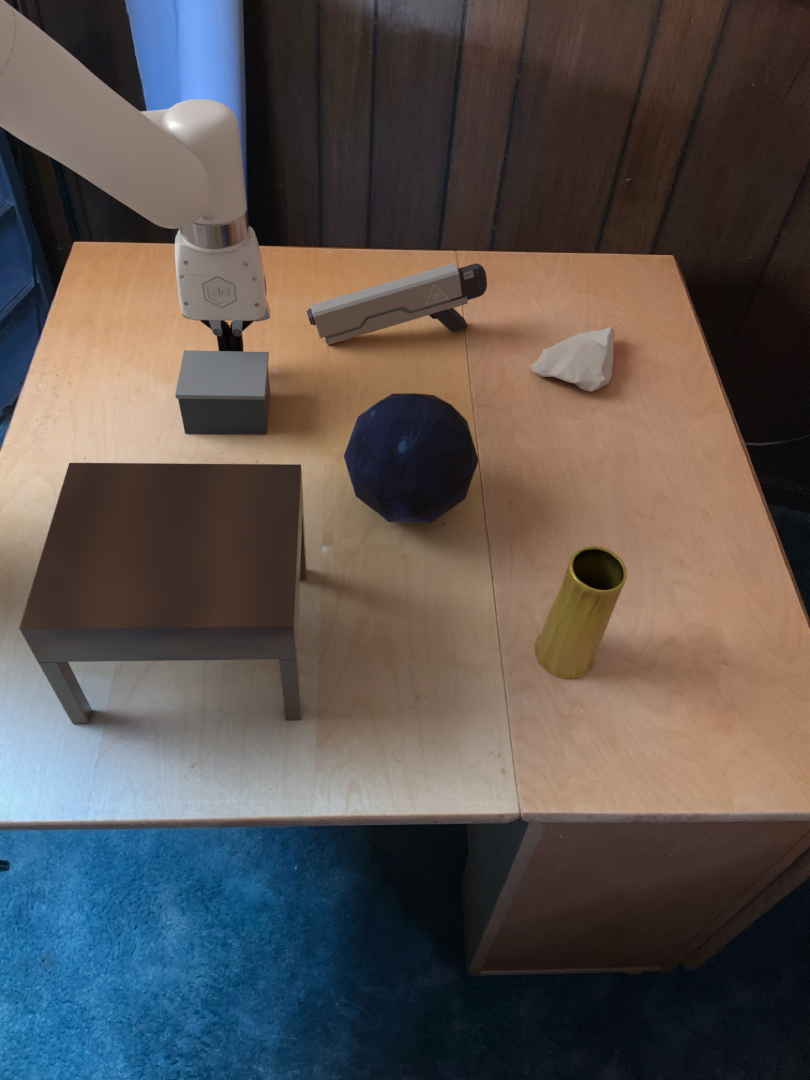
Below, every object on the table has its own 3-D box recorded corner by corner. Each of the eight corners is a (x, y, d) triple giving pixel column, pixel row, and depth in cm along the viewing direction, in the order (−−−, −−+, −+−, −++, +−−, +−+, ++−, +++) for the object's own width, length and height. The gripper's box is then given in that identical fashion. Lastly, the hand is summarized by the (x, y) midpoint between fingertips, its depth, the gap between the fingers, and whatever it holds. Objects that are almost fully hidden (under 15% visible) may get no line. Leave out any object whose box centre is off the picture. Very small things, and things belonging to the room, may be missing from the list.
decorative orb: (363, 547, 83) (448, 434, 77) (298, 456, 91) (372, 347, 85) (447, 558, 94) (528, 460, 88) (383, 476, 101) (453, 380, 96)
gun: (492, 322, 116) (487, 263, 108) (325, 372, 115) (307, 316, 107) (487, 312, 117) (481, 252, 109) (322, 361, 117) (304, 305, 109)
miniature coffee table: (72, 724, 74) (18, 628, 62) (111, 556, 87) (72, 449, 74) (301, 720, 76) (293, 626, 64) (307, 556, 88) (301, 451, 76)
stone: (528, 348, 108) (582, 302, 116) (522, 373, 111) (575, 326, 119) (597, 382, 104) (648, 332, 112) (589, 407, 107) (639, 356, 115)
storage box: (183, 434, 99) (174, 394, 94) (191, 390, 105) (183, 350, 100) (268, 435, 100) (264, 396, 95) (272, 391, 105) (268, 351, 100)
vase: (584, 625, 85) (620, 539, 74) (601, 676, 81) (642, 593, 70) (528, 630, 84) (556, 544, 73) (542, 682, 80) (574, 599, 69)
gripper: (141, 239, 88) (169, 373, 102) (280, 243, 89) (289, 374, 103) (151, 204, 92) (177, 336, 107) (283, 208, 94) (291, 338, 108)
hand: (232, 355), depth 105 cm, fingers closed
